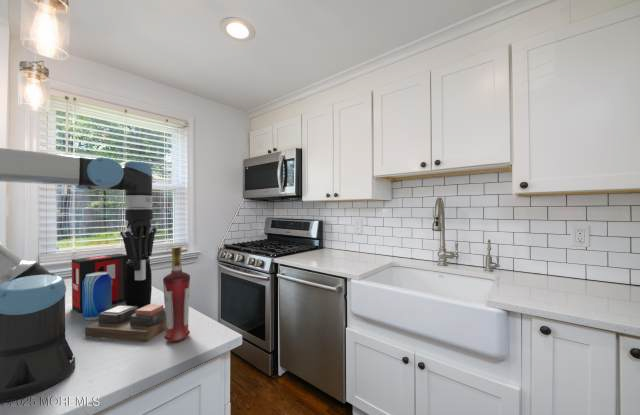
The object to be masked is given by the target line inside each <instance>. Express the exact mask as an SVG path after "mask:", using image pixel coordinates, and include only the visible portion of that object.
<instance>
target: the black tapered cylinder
mask: <svg viewBox="0 0 640 415" xmlns="http://www.w3.org/2000/svg"><path fill="white" fill-rule="evenodd" d="M150 262H151V260H150V258H149V259H146V279H145V280H135V271H134V262H133V261H131V260H129V261H127V264H126V270H125V302H124V303H125V306H138V309H140V308H142V307H144V306H146V305H149V304H152V303H151V302H152V290H153V289H152V286H153V284H152V277H153V276H152V275H153V274H152V267H151V263H150Z"/></svg>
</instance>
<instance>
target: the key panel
mask: <svg viewBox="0 0 640 415" xmlns="http://www.w3.org/2000/svg"><path fill="white" fill-rule="evenodd" d="M117 306H118V305H116V306H114V307H112V308H115V307H117ZM119 306H126V304H125V305H121V304H120V305H119ZM112 308H111V309H112ZM137 309H138V306H133V308H131V309H129V310H127V311H124V312H122V313H120V314H110V313H104V312H105V311H104V312H101V313H100V314H98V316H99V319H98V321H96V322H93V323H92V324H90V325H87V326H85V327H84V336H85V337H86V338H97V339H108V340H119V341H129V342H130V341H131V342H132V341H133V342H142V343H143V342H144V343H146V342H149V341H150V340H151V339H153V338H155V337H156V336H159V335H160V334H161V333H163V332H164V331H165V332H166V316H165V307H163V310H162V311H160V312H158V313H156V314H154V315H152V316H139V315H136V310H137ZM109 310H110V309H109ZM106 311H107V310H106Z"/></svg>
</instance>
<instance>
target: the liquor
mask: <svg viewBox="0 0 640 415" xmlns="http://www.w3.org/2000/svg"><path fill="white" fill-rule="evenodd" d="M171 256H172V259H171V272H170V273H168V274H167V275H166V276H164V277H163V279H162V284H163V298H164V300H163V302H164V308H165V316H166V330H165V333H166V334H165V335H164V339H165V340H166V341H168V342H169V343H179V342H182V341H184V340H186V338H187V337H188V336H189V335H190V329H189V311H190V308H189V307H190V292H191V291H190V289H191V275H190V274H189V273H187V272H184V271H183V265H182V259H181V258H182V257H181V256H182V246H173V247H171Z"/></svg>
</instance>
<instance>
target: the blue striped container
mask: <svg viewBox="0 0 640 415" xmlns="http://www.w3.org/2000/svg"><path fill="white" fill-rule="evenodd" d="M112 306H113V305H112V278H111V277H110V275H109V274H108V272H96V273H90V274H87V275H86V277H85V279H84V280H83V282H82V309H83V313H82V318H84V320H86V321H97V320H99V316H98V314H100V313H101V312H104V311H106V310H109V309H111V308H113V307H112Z"/></svg>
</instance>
